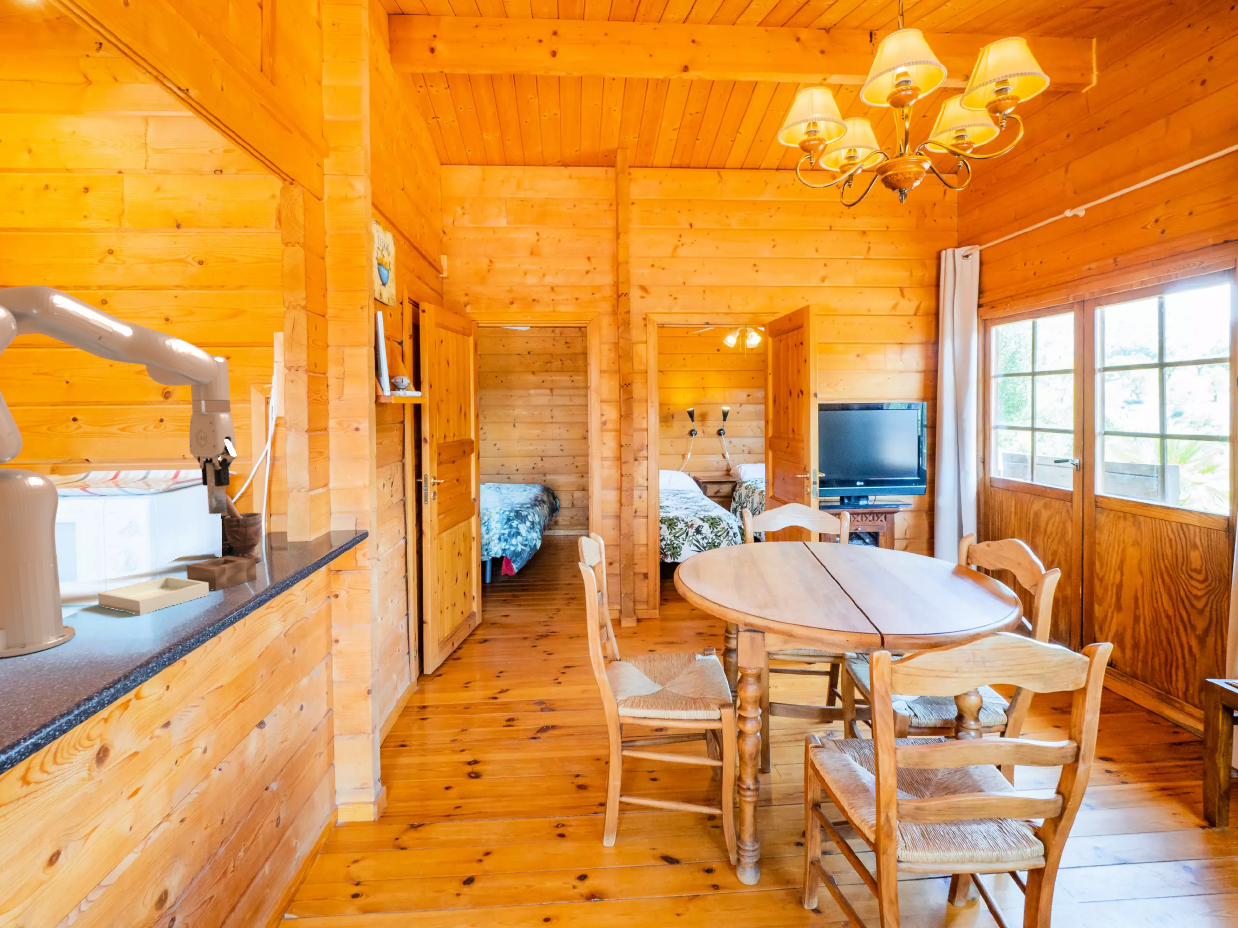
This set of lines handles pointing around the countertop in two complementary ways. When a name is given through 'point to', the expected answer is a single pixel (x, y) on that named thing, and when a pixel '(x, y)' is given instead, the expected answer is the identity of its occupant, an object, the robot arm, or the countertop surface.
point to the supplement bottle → (226, 540)
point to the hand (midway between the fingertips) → (216, 484)
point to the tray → (153, 594)
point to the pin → (215, 492)
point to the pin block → (223, 571)
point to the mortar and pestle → (243, 531)
